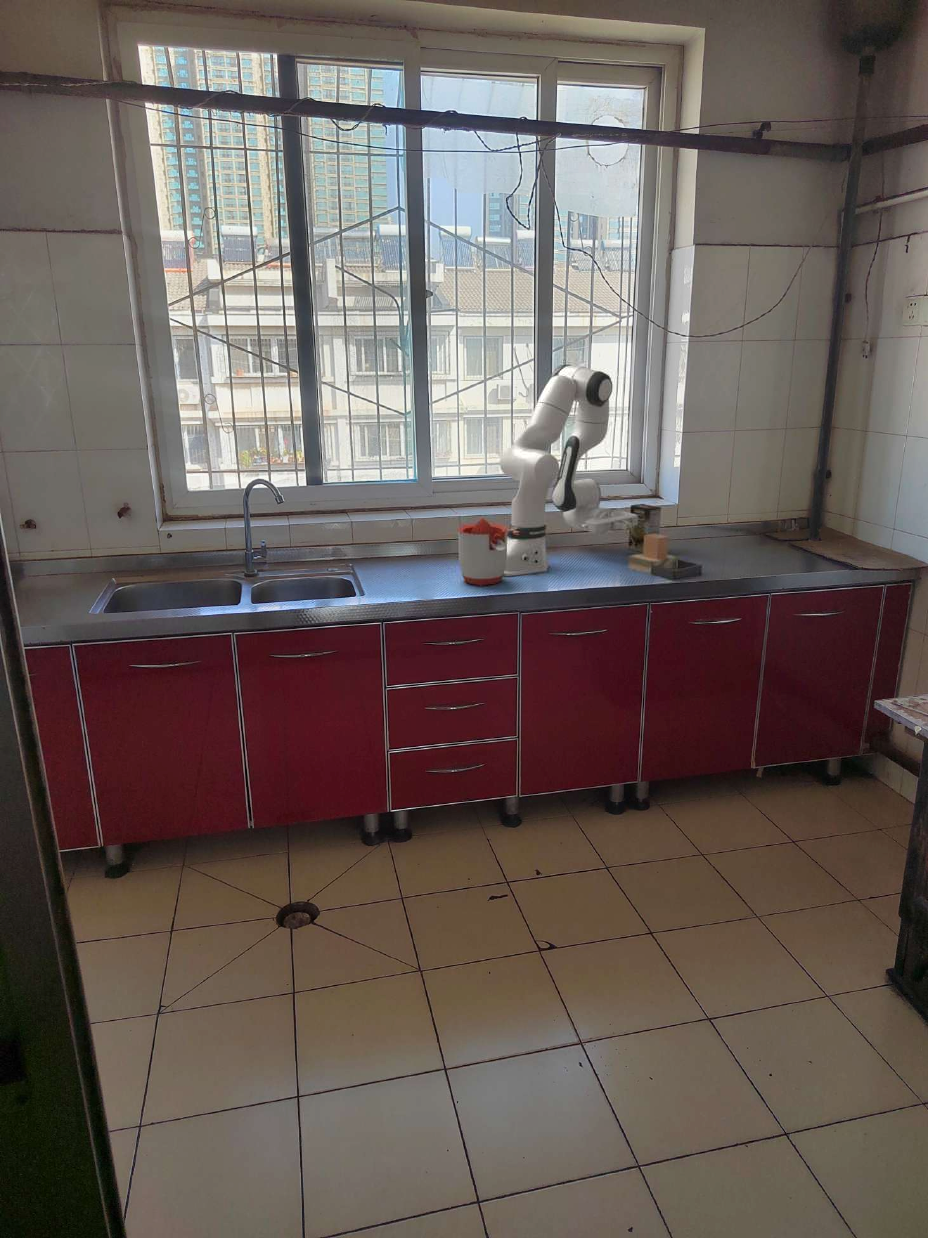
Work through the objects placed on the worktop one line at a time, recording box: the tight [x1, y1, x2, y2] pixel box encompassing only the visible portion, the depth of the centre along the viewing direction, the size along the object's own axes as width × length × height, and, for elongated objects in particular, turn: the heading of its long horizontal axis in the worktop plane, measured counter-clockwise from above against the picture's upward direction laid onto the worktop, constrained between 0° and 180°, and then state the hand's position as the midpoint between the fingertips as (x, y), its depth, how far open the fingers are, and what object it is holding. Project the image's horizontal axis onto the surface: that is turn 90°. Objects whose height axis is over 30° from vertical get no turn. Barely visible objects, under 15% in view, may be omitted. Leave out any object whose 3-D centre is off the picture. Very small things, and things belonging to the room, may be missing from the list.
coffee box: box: [628, 503, 662, 553], centre depth 290 cm, size 9×6×16 cm
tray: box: [650, 558, 703, 581], centre depth 259 cm, size 13×9×3 cm
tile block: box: [642, 533, 670, 560], centre depth 265 cm, size 5×6×7 cm
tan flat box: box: [627, 552, 678, 575], centre depth 267 cm, size 12×10×4 cm
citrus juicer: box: [457, 518, 509, 586], centre depth 251 cm, size 16×17×20 cm
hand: (628, 526), depth 274 cm, fingers closed
